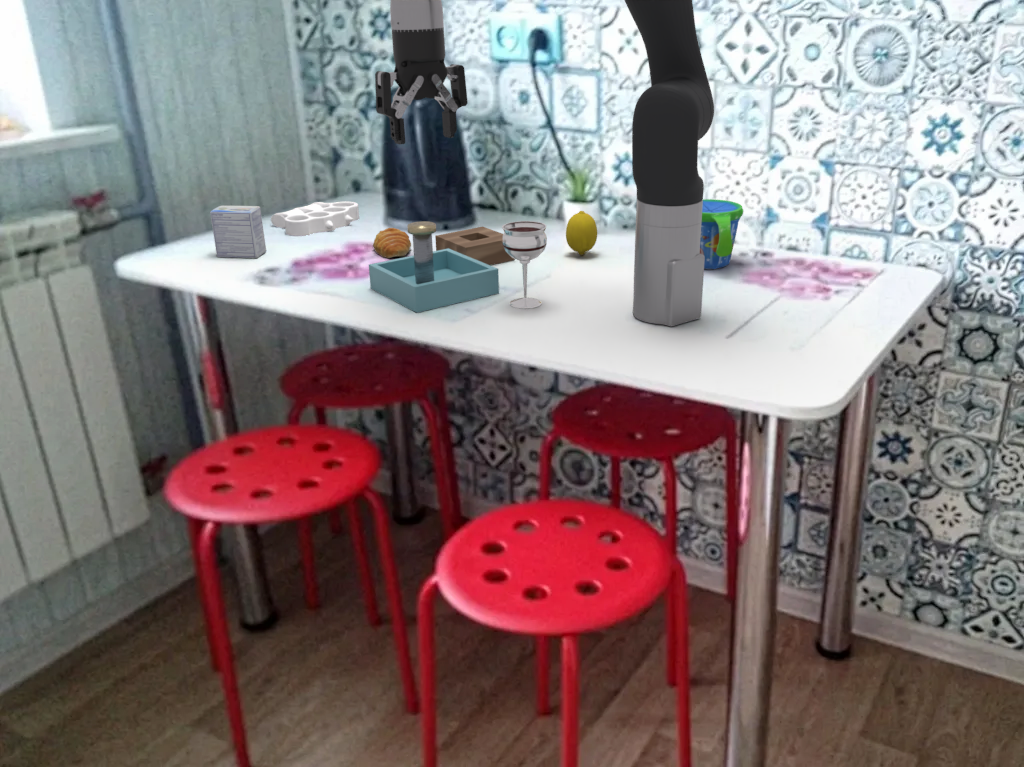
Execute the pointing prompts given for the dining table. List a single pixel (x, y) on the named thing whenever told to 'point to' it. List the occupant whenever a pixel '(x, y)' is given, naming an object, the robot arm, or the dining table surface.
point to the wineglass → (524, 251)
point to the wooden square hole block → (475, 244)
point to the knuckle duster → (316, 218)
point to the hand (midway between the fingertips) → (425, 140)
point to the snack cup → (718, 231)
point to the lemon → (581, 232)
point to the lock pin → (423, 250)
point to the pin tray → (450, 286)
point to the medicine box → (238, 231)
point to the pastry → (392, 243)
